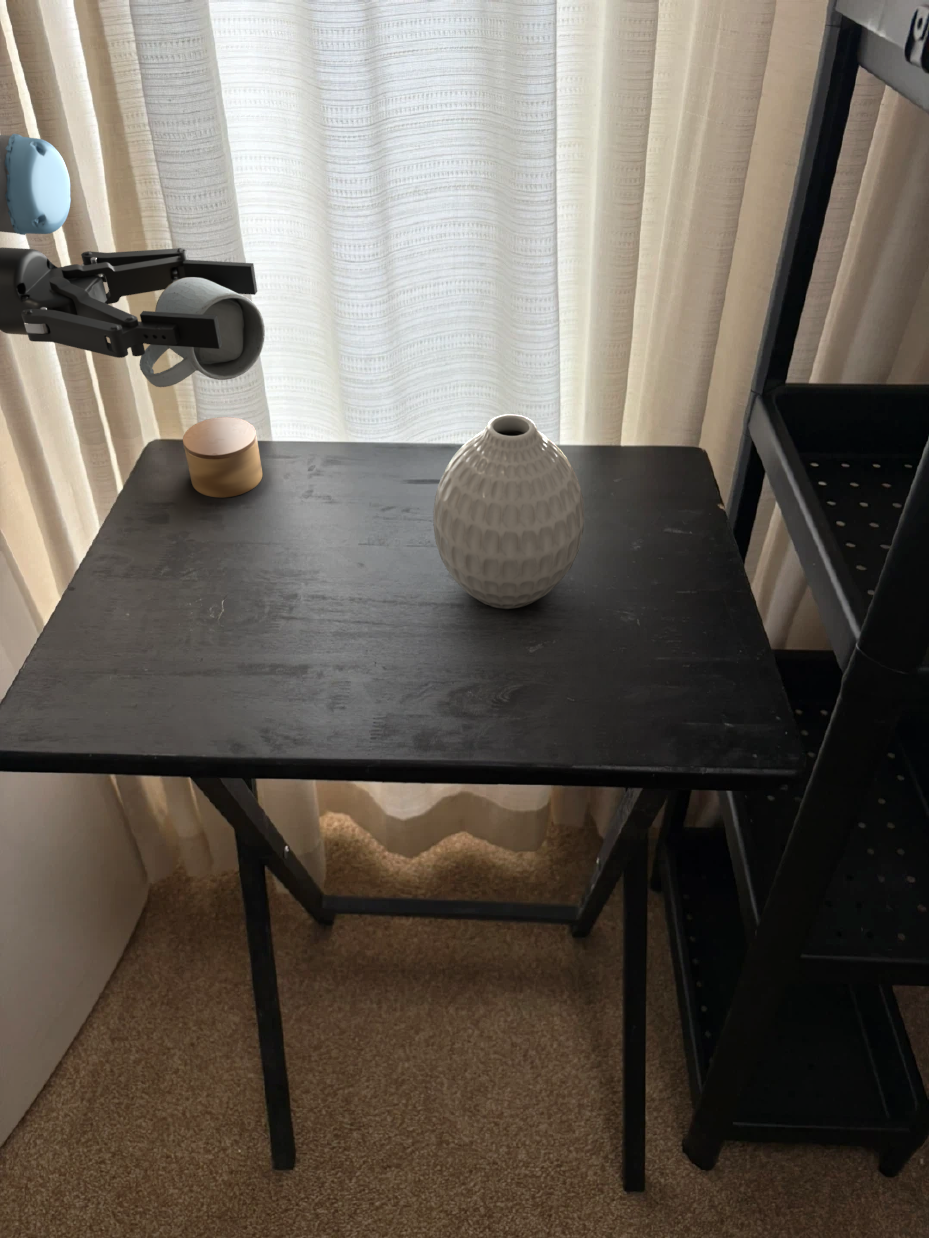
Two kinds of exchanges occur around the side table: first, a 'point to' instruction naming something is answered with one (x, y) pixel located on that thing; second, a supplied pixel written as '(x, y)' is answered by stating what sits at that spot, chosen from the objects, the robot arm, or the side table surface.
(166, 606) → the side table surface
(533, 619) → the side table surface
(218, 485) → the oak stand
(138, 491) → the side table surface
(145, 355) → the ceramic mug
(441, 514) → the vase
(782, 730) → the side table surface
